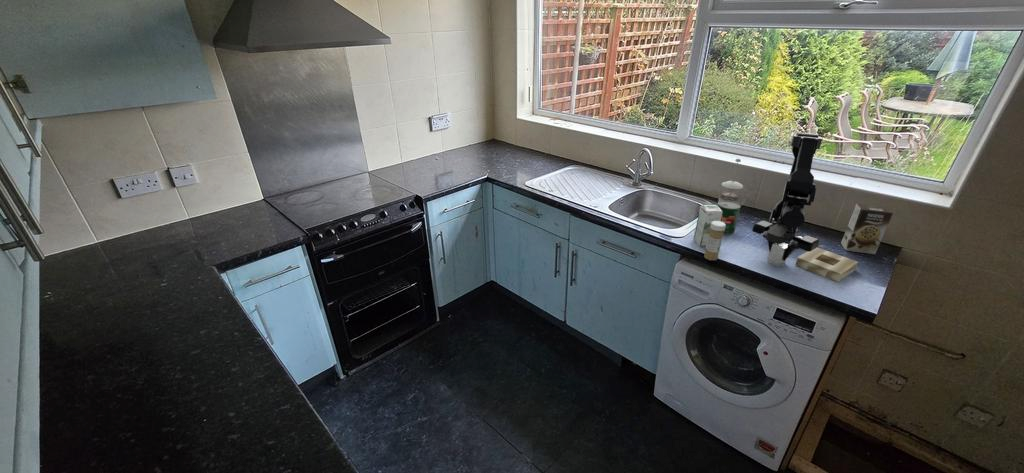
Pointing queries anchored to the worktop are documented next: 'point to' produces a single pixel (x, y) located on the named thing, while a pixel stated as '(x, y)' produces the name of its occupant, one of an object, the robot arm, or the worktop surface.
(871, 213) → the cookie box
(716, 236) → the sprinkles bottle
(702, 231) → the syrup box
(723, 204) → the canned tomato
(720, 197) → the french press
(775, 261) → the grey rectangular block
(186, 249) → the worktop surface
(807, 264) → the well block
